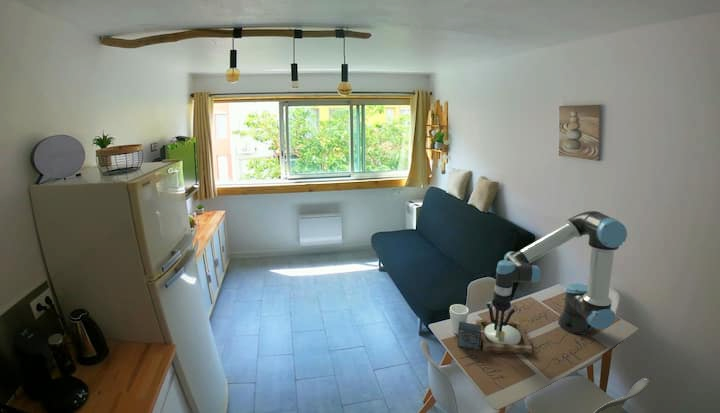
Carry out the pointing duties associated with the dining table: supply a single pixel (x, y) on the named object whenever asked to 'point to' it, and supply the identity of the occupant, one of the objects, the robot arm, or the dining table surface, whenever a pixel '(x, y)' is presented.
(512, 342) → the dial
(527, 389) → the dining table surface
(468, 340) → the small box
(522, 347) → the housing
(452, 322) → the foam cup
